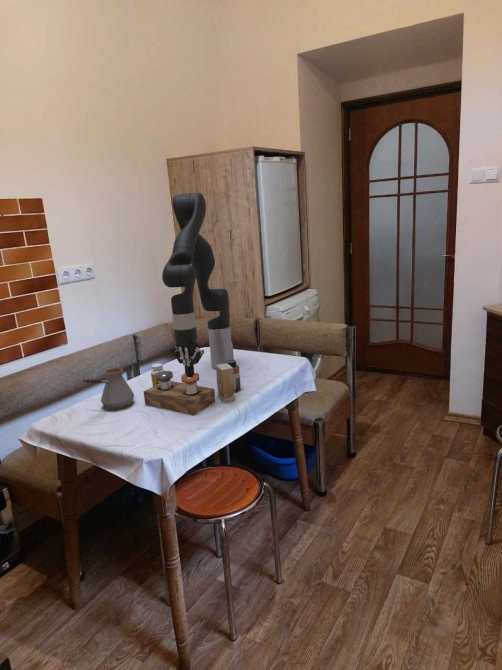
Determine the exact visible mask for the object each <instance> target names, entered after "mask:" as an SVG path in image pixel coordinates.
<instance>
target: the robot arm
mask: <svg viewBox="0 0 502 670" xmlns="http://www.w3.org/2000/svg"><path fill="white" fill-rule="evenodd" d="M172 209H173V213H174V217H175V219H176V221H177V224H178V226H179V229H180V231H179V232H178V234H177V235H176V237H175V239H174V242H173V247H172V253H171V255H170V256H169V259H168V261H167V262H166V264H165V266H164V267H163V270H162V273H161V278H162V282H163V285H164V286H165V287H168V288H184V290H183V292H182V293H177V294H174V295H172V296H171V297H170V303H171V315H172V317H171V318H172V328H173V337H174V341H175V346H174V347H172V348H171V349H170V351H171V353H172V354H173V356H174V357H175V359H176V360H177V362H178V363H179V364H182V365H183V367H184V374H186V376H188V377H191V376H193V375H194V373H195V367H194V366H196V364H199V362H200V360H201V359H202V357H203V355H204V353H205V350H204V349H201V348H199V344H198V343H197V339H198V331H197V330H198V329H197V322H196V321H197V320H196V314H195V309H194V291H195V290H194V289H195V284H196V283H197V288H198V291H199V293H198V294H199V299H200V303H201V306H202V308H203V310H204V311H206V312H219V315H218V316H217V317H213V318H211V319H209V320H208V321H207V332H208V341H209V342H208V343H209V351H210V352H209V354H210V363H211V368H212V369H215V370H216V365H219V364H224V363H225V361H226V360H229V359H234V360H235V357H234V346H233V345H234V344H233V342H232V335H231V334H232V333H231V324H230V320H231V319H230V317H231V316H230V298H229V297H230V296H229V292H228V291H227V289H225V288H210V287H209V280H210V277H211V275H212V273H213V271H214V269H215V265H216V259H215V255H214V251H213V248H212V246H211V244H210V243H209V242H208V241H207V240H206V239H205V238H204V237H203V235H201V234H200V231H201V229H202V225H203V222H204V220H205V217H206V212H207V203H206V199H205V196H204V195H203V194H202V193H201V192H187V193H180V194H176V195H174V196H173V197H172Z"/></svg>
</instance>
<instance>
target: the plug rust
mask: <svg viewBox="0 0 502 670" xmlns="http://www.w3.org/2000/svg"><path fill="white" fill-rule="evenodd" d="M180 377H181V383H185V388H186V395H189V396H194V395H196V394H198V389H197V386H198V381H200V374H199V373H198V372H194V375H193V376H191V377H188V376H186V374H185V373H184V374H182V375H181V376H180Z"/></svg>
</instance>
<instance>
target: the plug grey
mask: <svg viewBox="0 0 502 670" xmlns="http://www.w3.org/2000/svg"><path fill="white" fill-rule="evenodd" d="M155 376H156V380H159V384H160V390H163V391H167V390H169V389H171V388H172V387H171V381H172V380H171V379H173V378H174V372H173V371H171V370H165V371H161V372H158V373H156V374H155Z"/></svg>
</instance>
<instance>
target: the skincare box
mask: <svg viewBox="0 0 502 670" xmlns="http://www.w3.org/2000/svg"><path fill="white" fill-rule="evenodd" d="M215 371H216V383H217V385H216V386H217V397H218V398H219V399H220V400H221V401H222V402H223V403H224V402H225V403H229V402H234V401H235V400H236V394H235V393H236V392H235V391H234V377H233V368H232V367H231V366H230V365H229V364H227V363H224V364H219V365H216V369H215ZM233 400H234V401H233Z"/></svg>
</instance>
